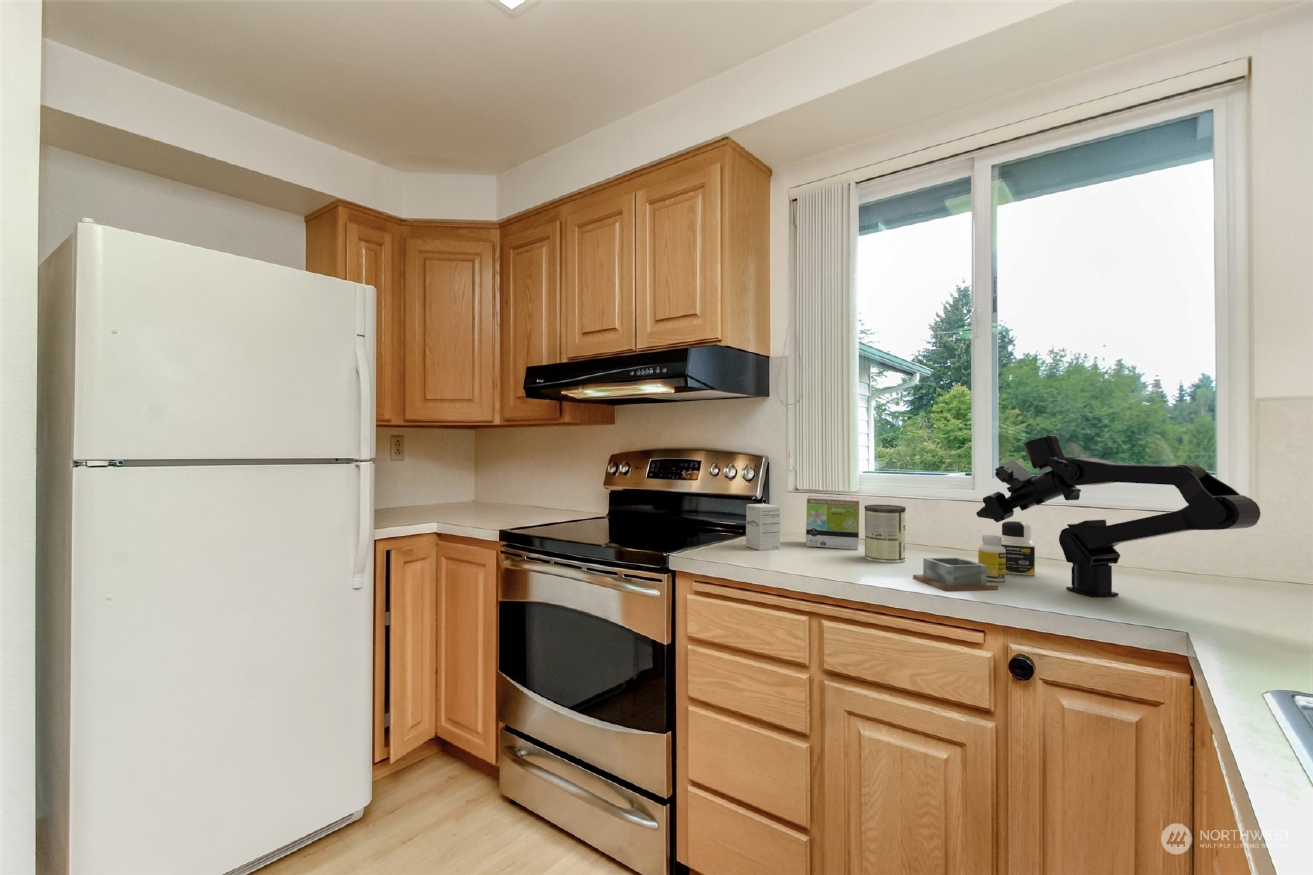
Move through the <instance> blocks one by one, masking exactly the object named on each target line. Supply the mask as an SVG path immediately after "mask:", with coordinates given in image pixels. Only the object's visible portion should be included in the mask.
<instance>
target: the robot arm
mask: <svg viewBox="0 0 1313 875" xmlns="http://www.w3.org/2000/svg"><path fill="white" fill-rule="evenodd" d="M1023 447H1024V450H1025V452H1026V454H1027V457H1028V459H1029V462H1030V465H1031V466H1032V468H1033V469H1034V470H1036V469H1038V470H1039V472H1044V473H1041V474H1036V475H1034V476H1031V474H1030V473H1029V472H1028V471H1027V469H1025V467H1023V466H1022V465H1021V464H1020V463H1019V462H1017V461H1016V460H1014V459H1011V460H1008V461H1006V462H1003V463H1002V464H1001V465H1000V466H999V467H996V468H995V472H994V475H995V477H996V478H997V479H998V480H999V481H1000V482H1001V483H1004V484H1007V485H1008V486H1007V487H1006V489H1007V491H1008V493H1010V495H1009V496H1008V497H1006V496H1005V494H1004V493H1002V492H1001V491H996V492H993V493H992V494H989V495H987V496H984V497H982V502H983V504H984V506H982V507H981V508H980V509H979V510H978V511H977V512H975V514H976V516H977V517H978V518H982V519H990V520H993V521H994V522H996V523H1000V522H1002V521H1006V520H1007V519H1009V518H1012V517H1013V516H1014V513H1015V511H1014V509H1016V508H1019V509H1020V510H1021V511H1022V512H1023V511H1026V510H1028V509H1029V508H1032V507H1035V506H1039V505H1041V504H1044V503H1046V502H1048V501H1051V500H1054V499H1056V498H1058V497H1061V496H1063V498H1064V500H1065V501H1079V500H1080V496H1081V495H1080V494H1081V492H1082V489H1081V488H1078V487H1077V486H1100V485H1107V484H1108V485H1109V484H1116V483H1127V484H1128V483H1129V484H1146V485H1147V484H1148V485H1164V486H1165V485H1167V486H1174V487H1175V488H1176V489H1177V490H1178V491H1179V493H1180V494H1181V496H1182V497H1183V499H1184V501H1185V502H1186V504H1187V505H1185V506H1184V507H1182V508H1180V509H1179V510H1176V511H1171V512H1166V513H1162V514H1161V513H1160V514H1156V515H1151V516H1147V517H1143V518H1142V517H1141V518H1137V519H1132V520H1127V521H1122V522H1117V523H1113V524H1110V525H1109V524H1108V525H1107V520H1106V519H1091V520H1089V519H1088V520H1086V519H1085V520H1083V521H1081V522H1077V523H1068V524H1066V525H1067V527H1065V528H1063V529H1062V530H1060V533H1059V536H1058V543H1059V545H1060V548H1061V549H1062V551H1063V554H1064V555H1063V556H1064V558H1065V560H1066V563H1070V564H1072V566H1071V586H1066V587H1065V589H1066V590H1067V591H1071V592H1075V593H1078V594H1082V595H1086V596H1089V597H1116V596H1117V597H1118V596H1119V592H1115V591H1113V584H1112V582H1113V581H1112V580H1113V573H1112V572H1113V566H1112V564H1113V565H1115V564H1118V563H1119V560H1120V558H1121V554H1120V552H1118V551H1117V549H1116V548H1115V547H1116V546H1118V545H1119V544H1123V543H1128V542H1133V541H1134V542H1135V541H1139V540H1145V539H1151V538H1156V537H1162V536H1167V535H1173V534H1178V533H1180V534H1181V533H1185V532H1189V531H1191V532H1192V531H1219V530H1220V531H1221V530H1234V529H1247V528H1248V529H1249V528H1251V527H1253V526H1256V525H1257V523H1258V522H1259V520H1260V519H1261V510H1260V506H1259V505H1258V503H1257V502H1256V501H1255V500H1254V499H1252V498H1250V497H1248V496H1246V495H1243V494H1241V493H1239V492H1238V491H1237V490H1235V489H1234V488H1233V487H1231V486H1230V485H1228V484H1227V483H1225V482H1223V481H1221V480H1220V479H1219V478H1217V477H1215V476H1213V475H1212V474H1210V473H1209V472H1208V471H1207V470H1206V469H1205V468H1203V467H1202V466H1200V465H1198V464H1193V463H1192V464H1174V465H1171V464H1170V465H1169V464H1163V465H1162V464H1131V463H1130V464H1126V463H1124V464H1123V463H1118V462H1113V461H1111V460H1106V459H1101V458H1096V457H1095V458H1093V457H1092V458H1091V457H1090V458H1089V457H1088V458H1087V457H1085V458H1083V457H1079V458H1078V457H1077V458H1076V457H1074V456H1073V457H1072V456H1071V457H1069V456H1065V455H1064V452H1063V450H1062V448H1061V446H1060V442H1059V439H1058V437H1057V435H1055V434H1054V435H1053V434H1049V435H1047V436H1043V437H1039V438H1036V439H1035V438H1034V439H1031V440H1028V441H1026V442H1025V443H1024V444H1023Z"/></svg>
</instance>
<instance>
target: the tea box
mask: <svg viewBox="0 0 1313 875" xmlns="http://www.w3.org/2000/svg"><path fill="white" fill-rule="evenodd" d="M805 524H806V526H805V546H806V548H808V547H815V548H827V549H828V548H830V549H838V550H839V549H840V550H852V551H858V550H859V544H860V543H859V542H860V539H859V538H860V500H859V497H851V496H850V497H848V496H831V495H830V496H827V495H808V497H807V498H806V522H805Z"/></svg>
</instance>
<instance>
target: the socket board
mask: <svg viewBox="0 0 1313 875" xmlns="http://www.w3.org/2000/svg"><path fill="white" fill-rule="evenodd" d="M922 560H923V562H922V563H923V565H922V566H923V568H922V570H923V573H922V574H913V575H912V579H914V580H916V581H919V582H922V583H925V584H926V585H930V586H932V587H935V588H937V589H940V590H942V591H945V592H958V591H963V592H964V591H992V590H993V591H995V590H997V591H998V590H999V585H997V584H995V583H990V582H989V581H987V580H986V565H983V564H980V563H978V562H976V561H973V560H969V559H966V558H963V557H930V558H929V557H926V558H924V557H923V559H922Z"/></svg>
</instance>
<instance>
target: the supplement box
mask: <svg viewBox="0 0 1313 875" xmlns="http://www.w3.org/2000/svg"><path fill="white" fill-rule="evenodd" d="M745 507H746V508H745V509H746V510H745V511H746V513H745V515H746V517H745V518H746V519H745V520H746V521H745V547H746V548H747V547H748V548H751V549H753V550H754V549H755V550H757V551H773V550H780V549H781V506H780V505H773V504H769V503H752V504H750V503H748V504H746V506H745Z"/></svg>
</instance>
